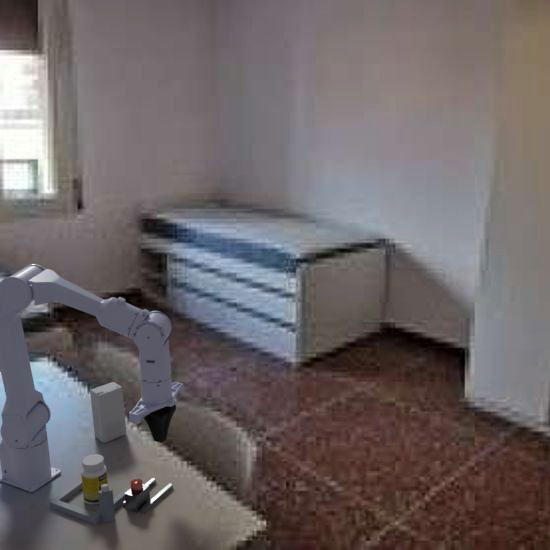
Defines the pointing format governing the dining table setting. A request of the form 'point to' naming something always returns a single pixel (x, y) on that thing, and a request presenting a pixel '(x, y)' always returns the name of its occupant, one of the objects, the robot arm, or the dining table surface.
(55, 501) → the press bed
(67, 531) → the dining table surface
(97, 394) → the skincare box
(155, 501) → the track
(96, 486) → the supplement bottle
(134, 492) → the grey slider block
